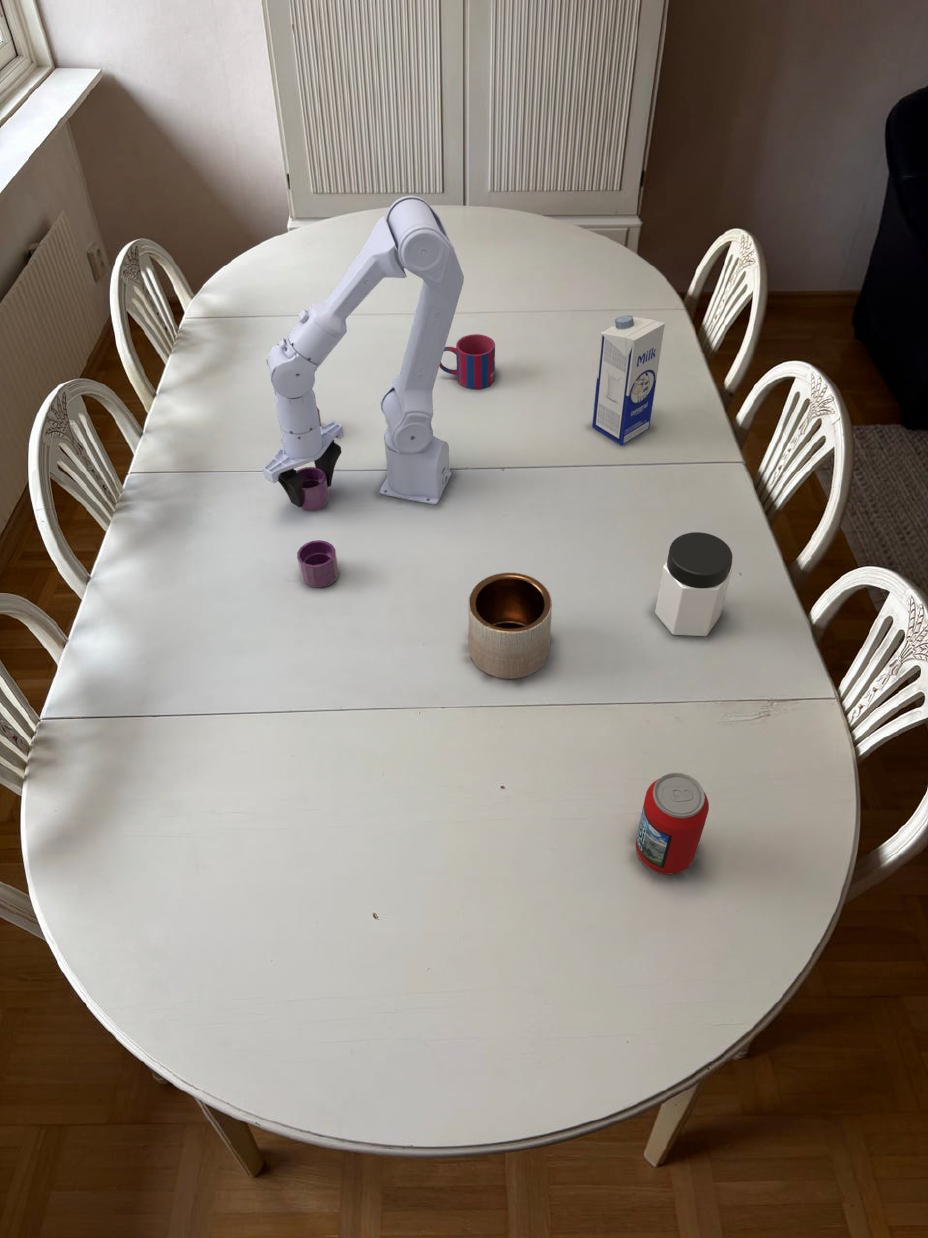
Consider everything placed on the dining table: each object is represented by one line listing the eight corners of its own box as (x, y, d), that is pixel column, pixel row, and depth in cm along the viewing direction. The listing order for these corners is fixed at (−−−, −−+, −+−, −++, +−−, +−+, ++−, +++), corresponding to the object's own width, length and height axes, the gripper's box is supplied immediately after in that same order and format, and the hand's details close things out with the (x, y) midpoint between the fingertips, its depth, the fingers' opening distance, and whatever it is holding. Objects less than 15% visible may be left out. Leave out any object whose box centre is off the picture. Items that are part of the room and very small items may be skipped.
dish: (334, 492, 157) (331, 470, 154) (321, 514, 153) (317, 492, 150) (303, 486, 158) (299, 464, 155) (289, 508, 155) (285, 486, 151)
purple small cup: (344, 566, 146) (341, 544, 142) (330, 592, 142) (326, 570, 139) (310, 559, 147) (306, 537, 144) (295, 584, 143) (291, 562, 140)
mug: (492, 390, 174) (493, 356, 169) (436, 387, 175) (434, 353, 170) (496, 368, 179) (496, 334, 174) (441, 365, 180) (439, 332, 175)
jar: (731, 626, 136) (748, 564, 128) (681, 647, 134) (694, 585, 125) (693, 584, 142) (707, 522, 133) (644, 603, 140) (655, 541, 131)
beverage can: (629, 827, 116) (640, 769, 107) (686, 822, 116) (702, 764, 107) (641, 880, 111) (654, 824, 103) (700, 875, 112) (718, 819, 103)
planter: (456, 634, 136) (454, 586, 129) (527, 610, 139) (529, 561, 132) (488, 692, 130) (488, 644, 123) (563, 665, 132) (567, 617, 125)
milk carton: (620, 446, 163) (634, 339, 148) (591, 427, 167) (601, 321, 152) (650, 428, 166) (666, 321, 151) (620, 410, 170) (632, 304, 155)
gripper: (315, 389, 150) (326, 460, 160) (243, 435, 143) (259, 507, 153) (349, 406, 147) (358, 478, 157) (276, 455, 140) (290, 526, 150)
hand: (311, 493), depth 155 cm, fingers closed on dish, 5 cm apart
